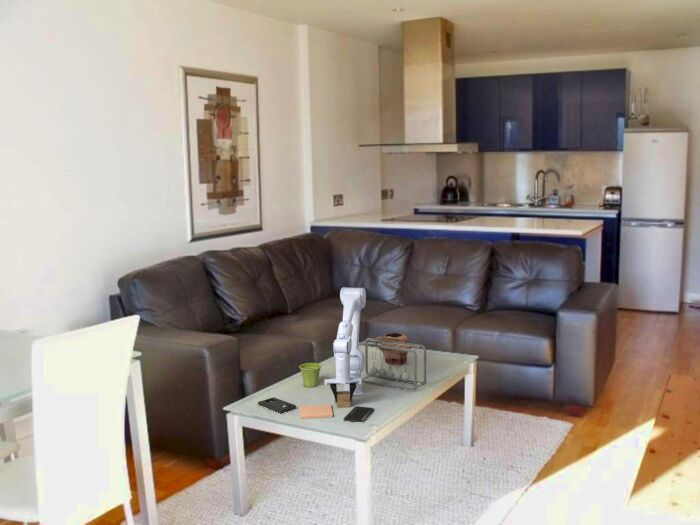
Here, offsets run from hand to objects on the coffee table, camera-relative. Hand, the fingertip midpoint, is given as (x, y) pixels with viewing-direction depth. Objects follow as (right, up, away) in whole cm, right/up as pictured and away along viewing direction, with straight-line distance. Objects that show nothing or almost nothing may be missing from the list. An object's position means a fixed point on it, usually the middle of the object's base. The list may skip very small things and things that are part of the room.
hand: (343, 401), depth 286 cm
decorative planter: (+23, +7, +59) cm, 64 cm away
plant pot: (-14, +2, +26) cm, 30 cm away
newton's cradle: (+20, +2, +27) cm, 34 cm away
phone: (+6, -4, -11) cm, 13 cm away
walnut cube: (0, -1, 0) cm, 1 cm away
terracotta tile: (-10, -3, -8) cm, 13 cm away
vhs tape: (-26, -3, -1) cm, 26 cm away
